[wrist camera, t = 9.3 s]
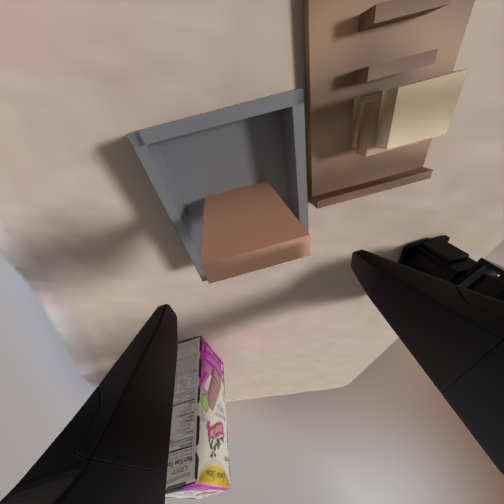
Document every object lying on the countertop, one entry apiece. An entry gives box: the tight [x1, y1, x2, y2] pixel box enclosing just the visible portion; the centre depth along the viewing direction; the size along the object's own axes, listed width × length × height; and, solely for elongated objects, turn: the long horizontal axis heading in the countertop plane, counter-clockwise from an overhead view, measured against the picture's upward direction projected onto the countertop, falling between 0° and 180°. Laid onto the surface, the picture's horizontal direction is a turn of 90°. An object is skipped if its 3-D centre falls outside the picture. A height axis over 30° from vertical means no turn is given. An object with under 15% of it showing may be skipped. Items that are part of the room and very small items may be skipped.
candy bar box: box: [165, 336, 231, 499], centre depth 29 cm, size 11×5×16 cm, turn 15°
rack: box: [304, 0, 475, 208], centre depth 16 cm, size 16×12×2 cm
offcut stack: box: [350, 69, 468, 157], centre depth 15 cm, size 4×5×4 cm
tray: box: [126, 88, 309, 281], centre depth 18 cm, size 14×12×4 cm
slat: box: [200, 180, 311, 283], centre depth 15 cm, size 1×6×10 cm, turn 103°
